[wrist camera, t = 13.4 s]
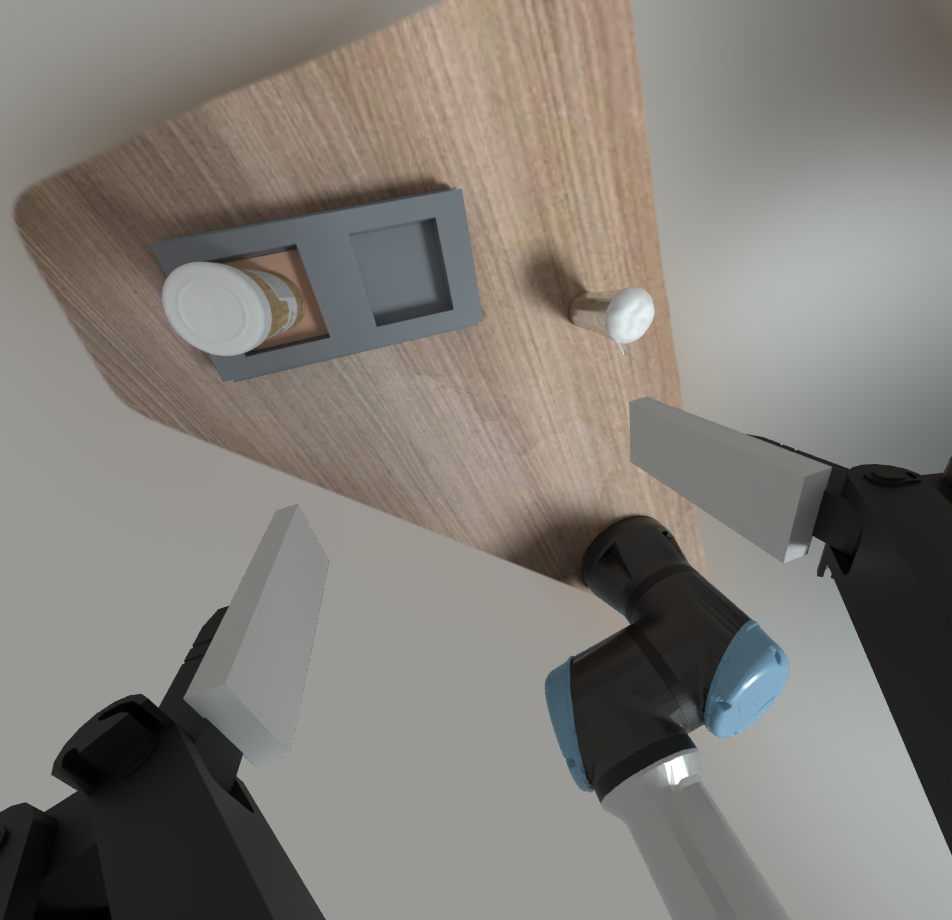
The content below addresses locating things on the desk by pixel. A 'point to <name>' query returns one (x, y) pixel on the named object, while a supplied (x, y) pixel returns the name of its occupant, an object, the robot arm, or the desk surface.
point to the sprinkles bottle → (229, 306)
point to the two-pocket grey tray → (349, 276)
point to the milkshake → (614, 313)
